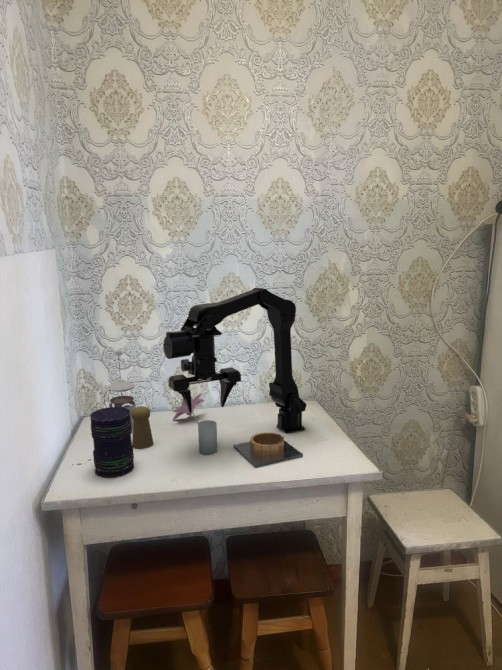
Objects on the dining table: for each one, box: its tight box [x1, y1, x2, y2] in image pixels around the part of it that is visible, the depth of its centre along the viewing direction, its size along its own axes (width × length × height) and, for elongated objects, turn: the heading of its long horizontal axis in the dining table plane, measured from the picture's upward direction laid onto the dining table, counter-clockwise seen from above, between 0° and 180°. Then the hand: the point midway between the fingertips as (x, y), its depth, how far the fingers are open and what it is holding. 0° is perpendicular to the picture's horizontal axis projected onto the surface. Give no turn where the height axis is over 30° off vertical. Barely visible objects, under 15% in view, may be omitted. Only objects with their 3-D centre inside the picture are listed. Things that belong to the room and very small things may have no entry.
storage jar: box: [89, 406, 135, 479], centre depth 127 cm, size 10×10×15 cm
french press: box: [103, 349, 136, 435], centre depth 153 cm, size 10×12×25 cm
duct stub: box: [197, 420, 218, 456], centre depth 137 cm, size 5×5×8 cm
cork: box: [131, 405, 155, 450], centre depth 142 cm, size 6×6×11 cm
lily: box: [172, 392, 205, 424], centre depth 160 cm, size 12×12×10 cm
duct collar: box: [232, 431, 304, 469], centre depth 136 cm, size 14×14×4 cm
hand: (206, 409), depth 136 cm, fingers open, 9 cm apart
